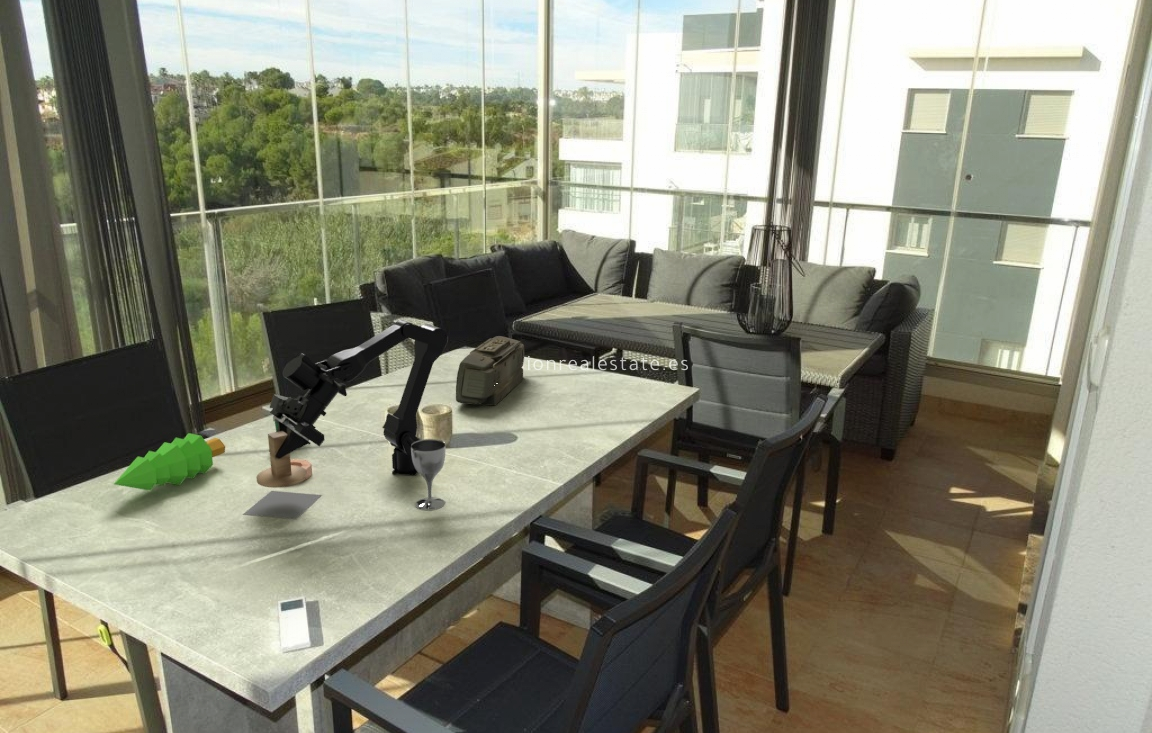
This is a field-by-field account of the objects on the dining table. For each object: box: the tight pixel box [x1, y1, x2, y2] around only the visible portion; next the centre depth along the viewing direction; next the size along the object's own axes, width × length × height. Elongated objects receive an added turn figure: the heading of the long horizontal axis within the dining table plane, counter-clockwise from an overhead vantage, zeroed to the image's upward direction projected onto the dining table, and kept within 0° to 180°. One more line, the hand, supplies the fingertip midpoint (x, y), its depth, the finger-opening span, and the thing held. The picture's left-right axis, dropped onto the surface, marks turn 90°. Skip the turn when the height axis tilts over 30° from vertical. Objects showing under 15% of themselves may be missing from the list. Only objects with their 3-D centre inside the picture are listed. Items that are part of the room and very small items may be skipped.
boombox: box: [455, 335, 525, 406], centre depth 274 cm, size 44×17×20 cm, turn 166°
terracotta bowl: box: [290, 458, 313, 481], centre depth 202 cm, size 9×9×3 cm
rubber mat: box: [242, 490, 323, 520], centre depth 186 cm, size 13×13×1 cm
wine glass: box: [411, 438, 447, 511], centre depth 187 cm, size 8×8×15 cm
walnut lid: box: [256, 431, 307, 489], centre depth 184 cm, size 11×11×11 cm
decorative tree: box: [113, 433, 226, 491], centre depth 195 cm, size 11×12×30 cm
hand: (273, 455), depth 183 cm, fingers closed on walnut lid, 3 cm apart
